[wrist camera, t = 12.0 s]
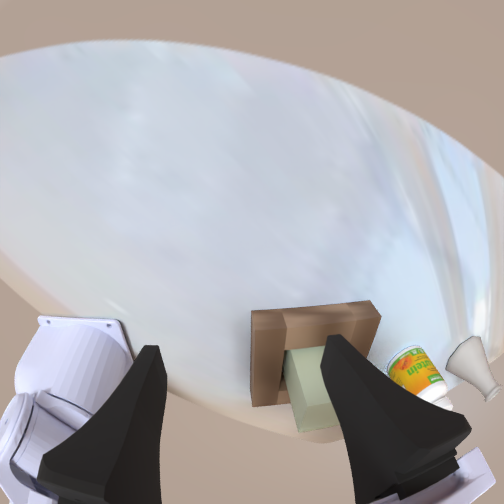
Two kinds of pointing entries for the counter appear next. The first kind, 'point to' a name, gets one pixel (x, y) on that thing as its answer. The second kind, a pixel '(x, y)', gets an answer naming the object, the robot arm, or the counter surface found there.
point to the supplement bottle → (419, 376)
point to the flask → (474, 367)
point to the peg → (308, 389)
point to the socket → (302, 340)
